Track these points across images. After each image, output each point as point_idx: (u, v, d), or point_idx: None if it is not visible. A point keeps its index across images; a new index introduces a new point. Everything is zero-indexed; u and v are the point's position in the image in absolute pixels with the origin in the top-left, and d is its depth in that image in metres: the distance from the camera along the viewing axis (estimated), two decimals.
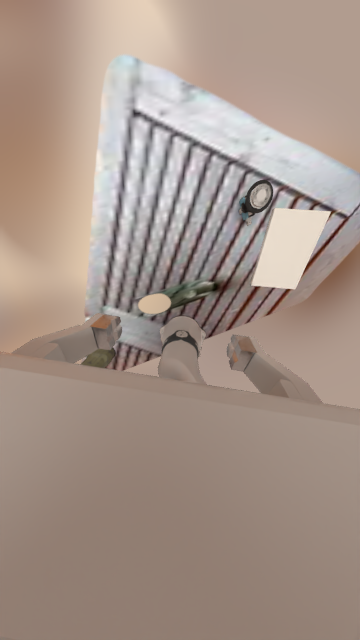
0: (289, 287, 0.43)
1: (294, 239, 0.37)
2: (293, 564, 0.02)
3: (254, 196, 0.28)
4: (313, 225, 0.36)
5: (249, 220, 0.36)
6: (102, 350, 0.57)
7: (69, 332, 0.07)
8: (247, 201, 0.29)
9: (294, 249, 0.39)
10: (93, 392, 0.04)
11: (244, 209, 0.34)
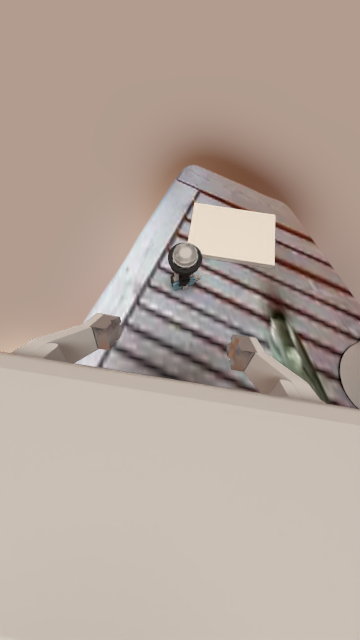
0: (273, 221, 0.32)
1: (218, 227, 0.32)
2: (293, 564, 0.02)
3: (185, 261, 0.20)
4: (206, 213, 0.32)
5: (196, 276, 0.29)
6: None
7: (69, 332, 0.07)
8: (188, 270, 0.20)
9: (228, 225, 0.32)
10: (93, 392, 0.04)
11: (187, 280, 0.26)
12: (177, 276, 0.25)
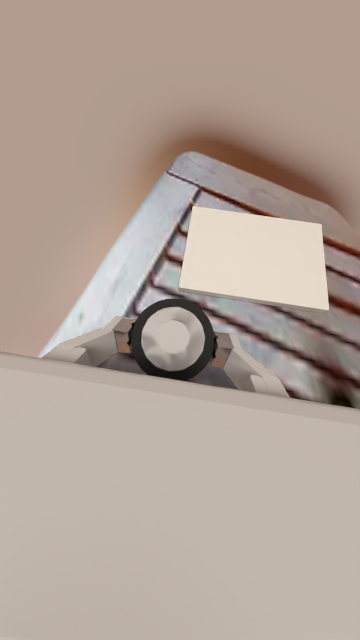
0: (319, 234, 0.20)
1: (231, 245, 0.20)
2: (293, 564, 0.02)
3: (174, 362, 0.07)
4: (211, 222, 0.20)
5: None
6: None
7: (93, 336, 0.07)
8: (180, 376, 0.08)
9: (248, 241, 0.20)
10: (93, 392, 0.04)
11: None
12: None
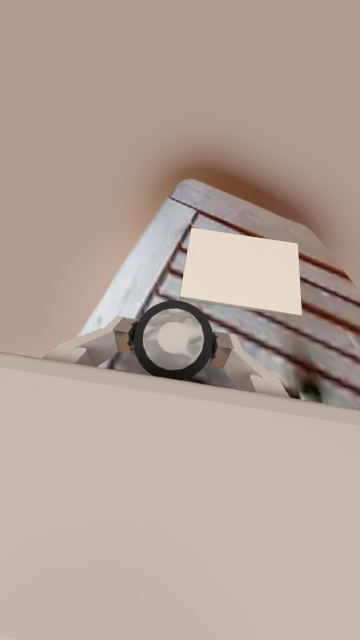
0: (296, 252, 0.24)
1: (223, 261, 0.24)
2: (293, 564, 0.02)
3: (173, 361, 0.08)
4: (206, 242, 0.24)
5: None
6: None
7: (94, 336, 0.07)
8: (180, 375, 0.08)
9: (237, 258, 0.24)
10: (93, 392, 0.04)
11: None
12: None
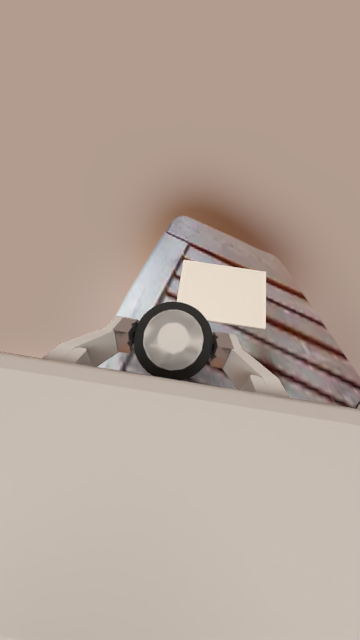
0: (264, 279, 0.32)
1: (207, 287, 0.31)
2: (293, 564, 0.02)
3: (173, 361, 0.08)
4: (195, 271, 0.32)
5: None
6: None
7: (94, 336, 0.07)
8: (180, 376, 0.09)
9: (218, 284, 0.31)
10: (93, 392, 0.04)
11: None
12: None
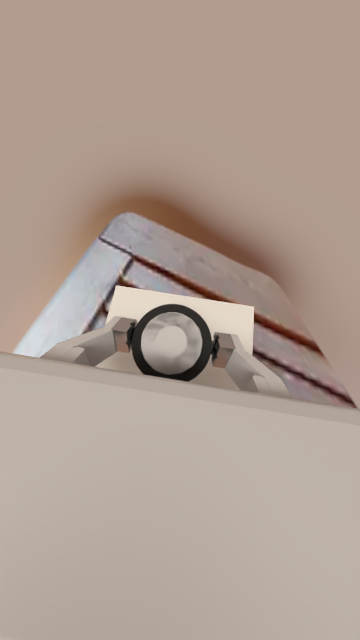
0: (250, 319, 0.19)
1: None
2: (293, 564, 0.02)
3: (171, 365, 0.08)
4: (133, 306, 0.19)
5: None
6: None
7: (92, 336, 0.07)
8: None
9: None
10: (93, 392, 0.04)
11: None
12: None
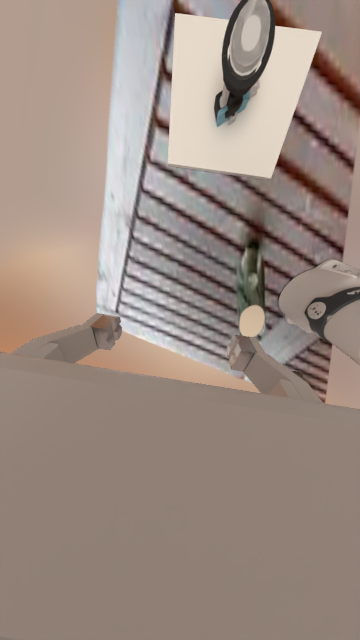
0: (309, 59, 0.19)
1: (211, 97, 0.22)
2: (293, 564, 0.02)
3: (248, 59, 0.14)
4: (194, 54, 0.20)
5: (252, 87, 0.20)
6: None
7: (69, 332, 0.07)
8: (247, 83, 0.16)
9: None
10: (93, 392, 0.04)
11: (238, 103, 0.19)
12: (227, 95, 0.19)
